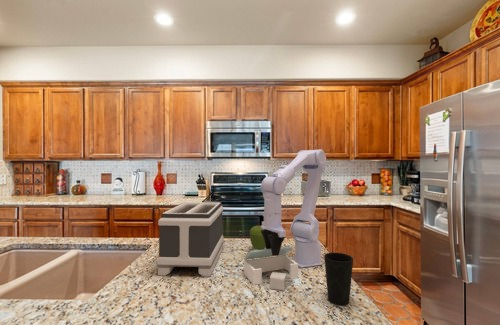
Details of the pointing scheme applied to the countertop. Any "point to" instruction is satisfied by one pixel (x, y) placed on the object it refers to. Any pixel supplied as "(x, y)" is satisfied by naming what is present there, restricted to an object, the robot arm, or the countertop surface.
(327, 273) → the cup
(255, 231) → the olive green rounded lump
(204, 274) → the toaster
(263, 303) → the countertop surface
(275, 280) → the usb wall charger
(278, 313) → the countertop surface
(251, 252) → the cover
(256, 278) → the c-shaped bracket
